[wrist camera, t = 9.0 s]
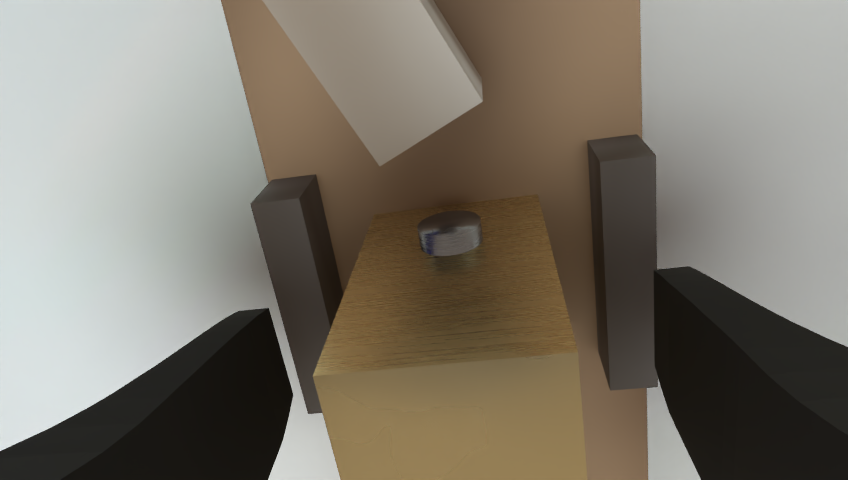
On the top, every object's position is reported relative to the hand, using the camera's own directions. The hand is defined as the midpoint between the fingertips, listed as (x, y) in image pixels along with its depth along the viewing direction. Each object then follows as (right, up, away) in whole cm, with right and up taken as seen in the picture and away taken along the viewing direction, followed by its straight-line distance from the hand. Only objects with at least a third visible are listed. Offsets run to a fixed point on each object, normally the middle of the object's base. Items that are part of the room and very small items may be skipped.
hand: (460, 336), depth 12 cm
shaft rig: (0, +2, +4) cm, 4 cm away
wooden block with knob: (0, +1, +3) cm, 3 cm away
